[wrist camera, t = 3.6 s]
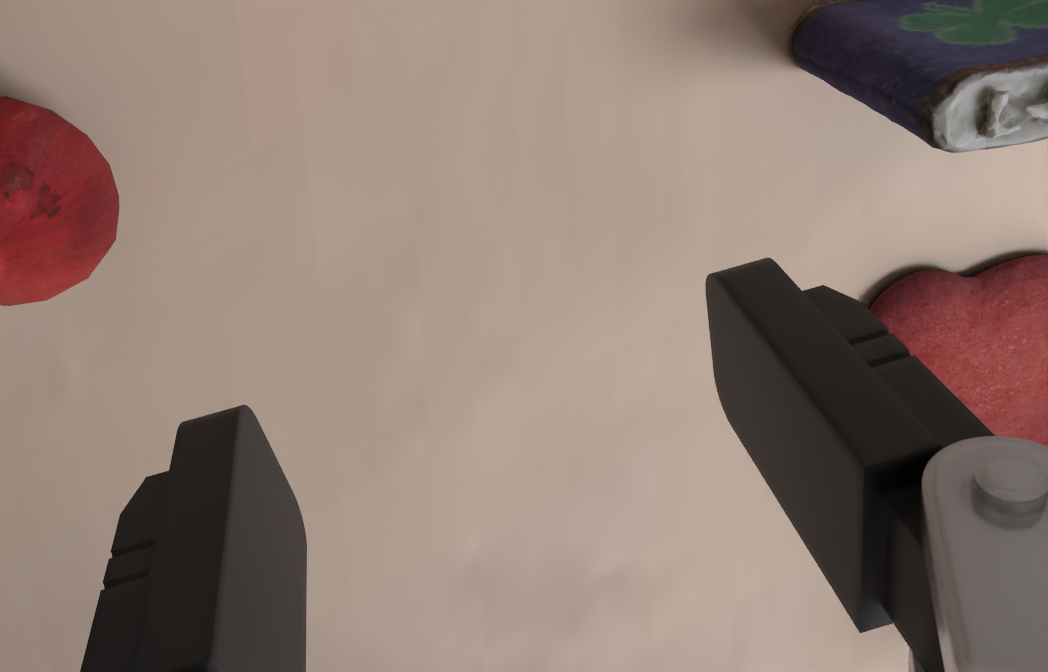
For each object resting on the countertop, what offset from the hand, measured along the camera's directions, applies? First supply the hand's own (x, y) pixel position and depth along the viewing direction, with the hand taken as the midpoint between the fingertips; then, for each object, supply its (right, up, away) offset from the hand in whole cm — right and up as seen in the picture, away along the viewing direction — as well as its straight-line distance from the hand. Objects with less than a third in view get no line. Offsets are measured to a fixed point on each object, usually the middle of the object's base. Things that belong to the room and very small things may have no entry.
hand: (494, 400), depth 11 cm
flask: (+14, +12, +22) cm, 29 cm away
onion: (-15, +7, +18) cm, 25 cm away
